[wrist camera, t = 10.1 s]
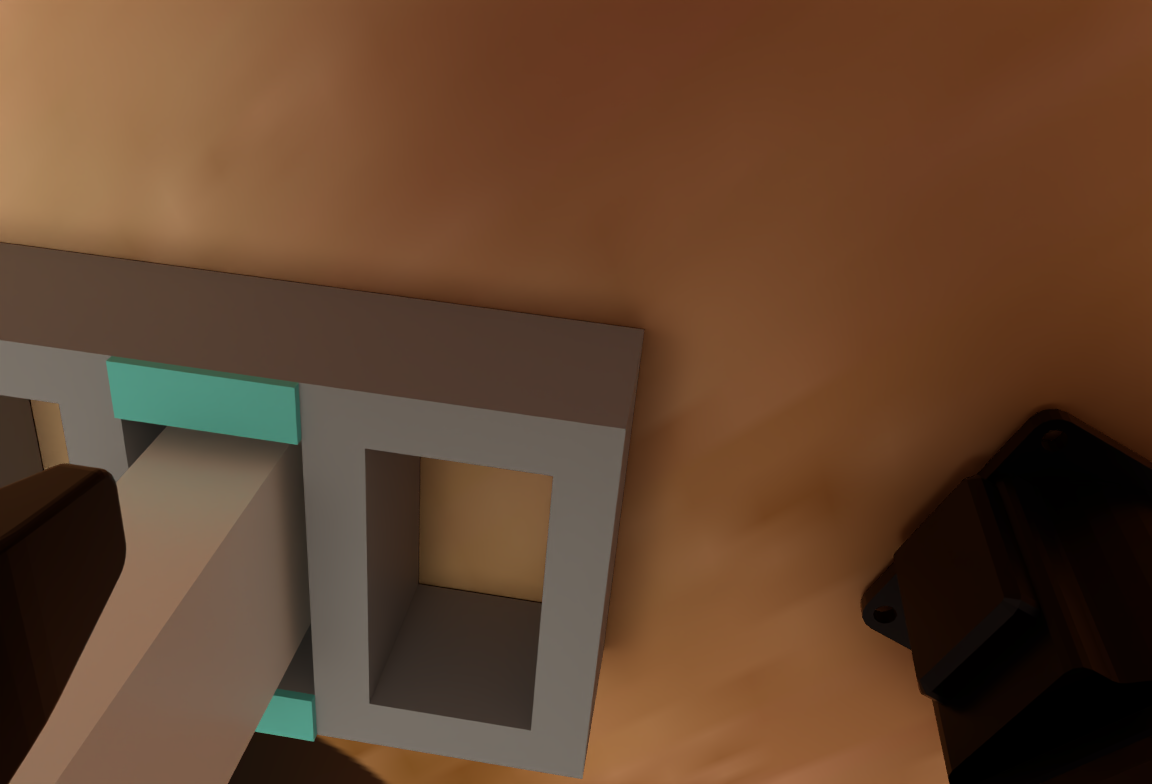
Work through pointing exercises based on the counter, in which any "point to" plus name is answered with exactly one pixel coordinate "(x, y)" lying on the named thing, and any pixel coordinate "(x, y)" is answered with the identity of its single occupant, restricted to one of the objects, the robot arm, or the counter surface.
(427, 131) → the counter surface
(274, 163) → the counter surface
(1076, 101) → the counter surface
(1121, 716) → the robot arm
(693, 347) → the counter surface
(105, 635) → the block
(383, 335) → the frame
